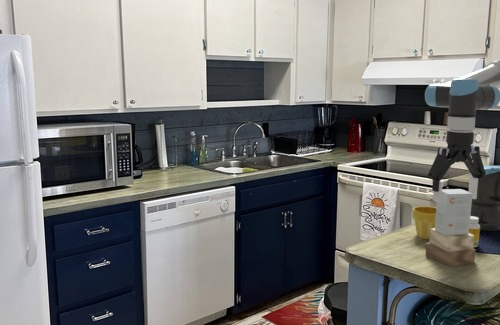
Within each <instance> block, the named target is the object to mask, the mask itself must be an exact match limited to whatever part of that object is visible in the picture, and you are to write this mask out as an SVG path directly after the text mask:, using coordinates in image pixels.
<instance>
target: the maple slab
mask: <svg viewBox="0 0 500 325" xmlns="http://www.w3.org/2000/svg"><path fill="white" fill-rule="evenodd" d="M429 242H430V243H432V244H434V245H436V246H438V247H439V248H441V249H443V250H445V251H447V252H452V251H463V250H473V249H474V247H473V244H474V235H472V234H470V233H469V234H466V235H443V234H442V233H440V232H438V231H437V230H435V228H431V229H430V239H429Z"/></svg>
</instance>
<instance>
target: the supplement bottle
mask: <svg viewBox="0 0 500 325" xmlns="http://www.w3.org/2000/svg"><path fill="white" fill-rule="evenodd" d="M478 222H479V218H478V217H474V216H470V226H469V233H470V234H472V235H474V244H473V248H477V247H478V246H479V241H480V232H481V230H480V225H479V224H478Z"/></svg>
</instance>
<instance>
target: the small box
mask: <svg viewBox="0 0 500 325" xmlns="http://www.w3.org/2000/svg"><path fill="white" fill-rule="evenodd" d="M471 205H472V193H470V192H468V190H465V189H461V188H455V189H454V188H447V189H444V188H442V198H441V203H438V202H436V206H435V208H436V219H435V230H437V231H438V232H440V233H442V234H443V235H466V234H469V226H470V216H471Z"/></svg>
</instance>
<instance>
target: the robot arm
mask: <svg viewBox="0 0 500 325" xmlns="http://www.w3.org/2000/svg"><path fill="white" fill-rule="evenodd" d="M424 100H425V103H426V105H428V106H429V107H435V108H448V113H447V126H446V128H447V130H448V131H446V138H445V142H446V144H447V146H446V148H445V147H440V146H439V147H438V149H437V153H436V156H435V158H434V161H433V163H432V165H431V167H430V169H429V171H428V173H427V175H426V178H427V179H430V180H432V188H431V191H432V192H433V193H432V194H433V195H432V201H433V202H435V203H437V202H438V203H441V198H442V190H443V184H444V183H443V181H441V180H442V179H443V177H444V176H445V175H446V173H447V172H448V171H449V170H450V168H451V167H452V165H455V163H459V162H462V163H464V165H465V166H466V168H467V170H468V171H469V173H470V176H469V182H468V190H467V191H468V192H470V193H472V205H471V216H474V217H478V218H479V222H478V224H479V225H480V231H484V232H485V231H486V232H497V231H498V232H499V231H500V165H484V162H483V159H482V156H481V152H480V151H481V148H480V146H478V145H474V138H475V133H474V132H473V131H475V129H476V114H477V111H479V110H485V111H487V110H490V109H494V108H496V107H497V106H498V105H499V103H500V59H497V60H494V61H492V62H489V63H488V64H487V65H485V67H484V68H481V69H479V70H476V71H474V72H470V73H469V74H467V75H463V76H461V77H458V78H452V80H449V81H447V82H445V83H431V84H429V85H428V86H427V87H426V89H425V91H424Z"/></svg>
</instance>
